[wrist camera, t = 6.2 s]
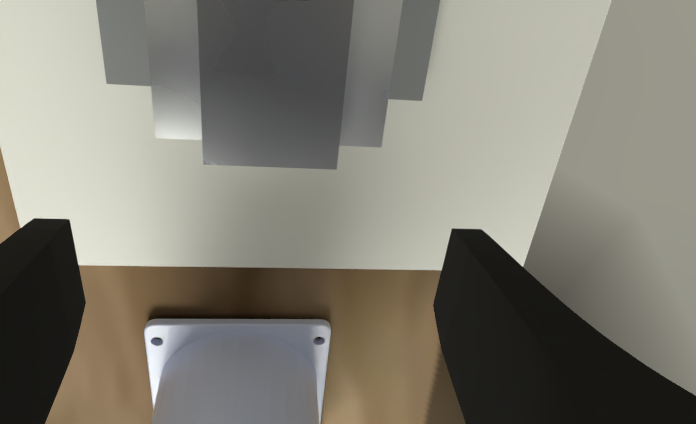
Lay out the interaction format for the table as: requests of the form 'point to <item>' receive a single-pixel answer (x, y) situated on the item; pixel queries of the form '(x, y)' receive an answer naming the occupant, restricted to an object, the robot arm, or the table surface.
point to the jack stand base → (295, 183)
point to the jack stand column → (272, 77)
